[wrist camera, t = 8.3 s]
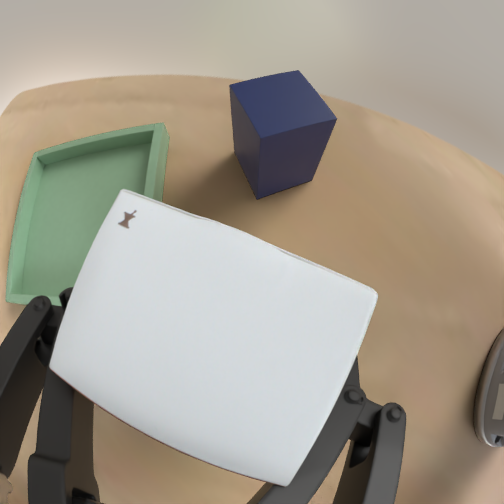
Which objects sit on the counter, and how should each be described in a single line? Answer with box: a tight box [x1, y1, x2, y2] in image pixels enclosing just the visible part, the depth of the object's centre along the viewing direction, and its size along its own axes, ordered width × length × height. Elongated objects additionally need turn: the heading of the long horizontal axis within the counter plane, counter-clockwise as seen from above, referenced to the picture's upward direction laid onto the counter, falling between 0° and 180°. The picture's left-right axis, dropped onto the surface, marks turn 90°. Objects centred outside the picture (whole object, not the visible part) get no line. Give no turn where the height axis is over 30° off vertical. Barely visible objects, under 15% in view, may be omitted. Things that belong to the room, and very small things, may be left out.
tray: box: [6, 123, 170, 306], centre depth 20 cm, size 16×16×2 cm
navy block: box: [229, 70, 337, 199], centre depth 19 cm, size 5×5×8 cm
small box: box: [49, 189, 378, 487], centre depth 13 cm, size 8×6×13 cm
